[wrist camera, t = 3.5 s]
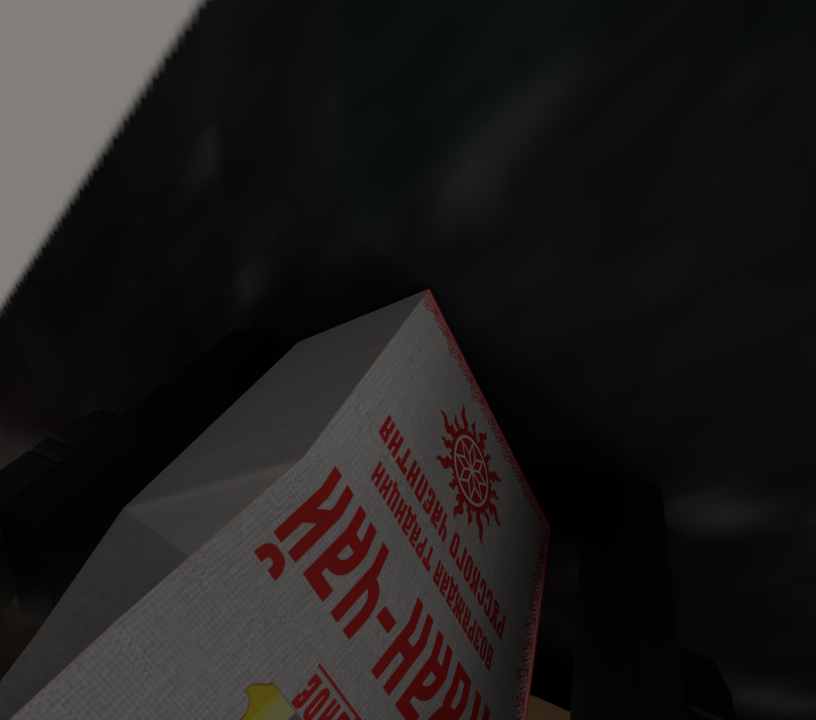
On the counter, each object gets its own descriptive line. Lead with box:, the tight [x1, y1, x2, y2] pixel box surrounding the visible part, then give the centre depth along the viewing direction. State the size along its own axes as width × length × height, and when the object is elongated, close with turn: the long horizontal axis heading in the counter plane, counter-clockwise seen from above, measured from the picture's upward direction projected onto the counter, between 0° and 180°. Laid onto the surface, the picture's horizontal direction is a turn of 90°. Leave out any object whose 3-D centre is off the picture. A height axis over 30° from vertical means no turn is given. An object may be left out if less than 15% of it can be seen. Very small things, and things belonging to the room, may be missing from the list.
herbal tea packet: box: [0, 289, 551, 720], centre depth 10 cm, size 4×7×10 cm, turn 29°
